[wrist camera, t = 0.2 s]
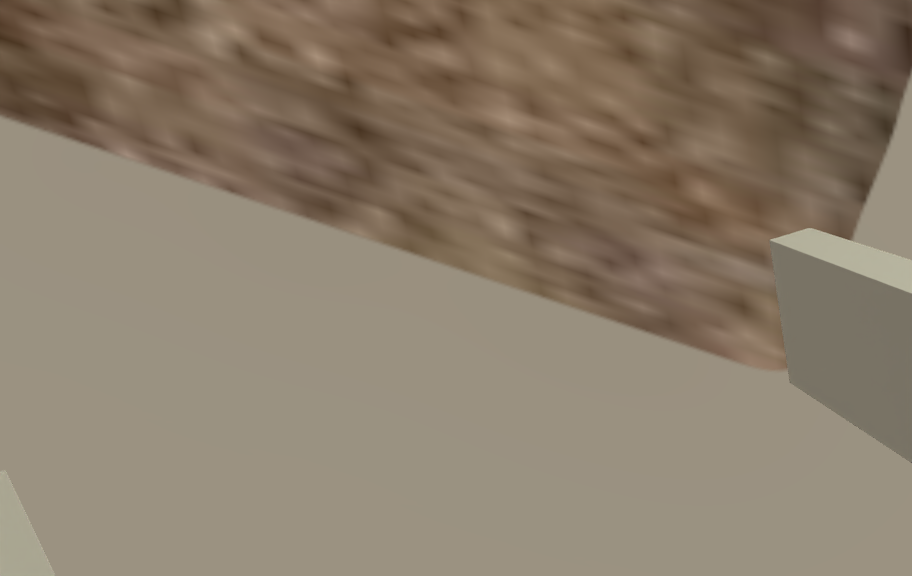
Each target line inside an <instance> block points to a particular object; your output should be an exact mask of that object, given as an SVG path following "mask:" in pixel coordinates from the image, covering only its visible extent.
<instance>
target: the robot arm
mask: <svg viewBox="0 0 912 576" xmlns="http://www.w3.org/2000/svg"><path fill="white" fill-rule="evenodd" d="M770 247H771V254H772V261H773V268H774V275H775V282H776V289H777V296H778V303H779V310H780V317H781V324H782V331H783V338H784V345H785V352H786V360H787V367H788V374H789V380H790V383H791V384H793V385H794V386H796V387H797V388H799V389H801V390H802V391H803V392H805V393H807V394H808V395H810V396H811V397H813V398H814V399H816V400H817V401H819V402H820V403H822V404H823V405H825V406H826V407H828V408H829V409H831V410H832V411H834V412H835V413H837V414H838V415H840V416H841V417H843V418H845V419H846V420H847V421H849V422H850V423H852V424H853V425H855V426H857V427H858V428H859V429H861V430H863V431H864V432H866V433H867V434H869V435H870V436H872V437H873V438H875V439H876V440H878V441H879V442H881V443H882V444H884V445H885V446H887V447H888V448H890V449H891V450H893V451H894V452H896V453H897V454H899V455H901V456H902V457H903V458H905V459H906V460H908V461H910V462H911V463H912V260H909V259H906V258H903V257H900V256H897V255H893V254H890V253H887V252H884V251H881V250H878V249H875V248H872V247H869V246H865V245H862V244H859V243H856V242H853V241H850V240H847V239H844V238H840V237H837V236H834V235H831V234H828V233H825V232H822V231H819V230H815V229H812V228H808V229H805V230H801V231H798V232H795V233H791V234H788V235H785V236H781V237H778V238H775V239H771V240H770ZM0 576H55V574H54V572H53V570H52V568H51V565H50V564H49V561H48V559H47V557H46V555H45V553H44V551H43V549H42V546H41V545H40V542H39V540H38V538H37V536H36V534H35V532H34V530H33V527H32V526H31V523H30V521H29V519H28V517H27V515H26V513H25V511H24V508H23V506H22V504H21V502H20V500H19V498H18V496H17V494H16V492H15V489H14V487H13V485H12V483H11V481H10V479H9V477H8V475H7V473H6V470H3V471H0Z"/></svg>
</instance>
